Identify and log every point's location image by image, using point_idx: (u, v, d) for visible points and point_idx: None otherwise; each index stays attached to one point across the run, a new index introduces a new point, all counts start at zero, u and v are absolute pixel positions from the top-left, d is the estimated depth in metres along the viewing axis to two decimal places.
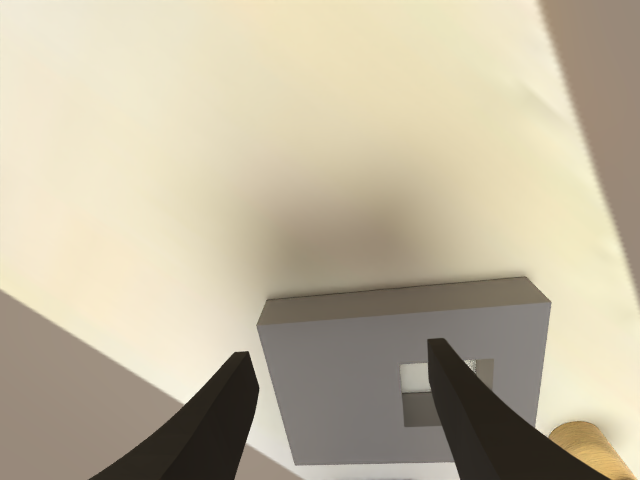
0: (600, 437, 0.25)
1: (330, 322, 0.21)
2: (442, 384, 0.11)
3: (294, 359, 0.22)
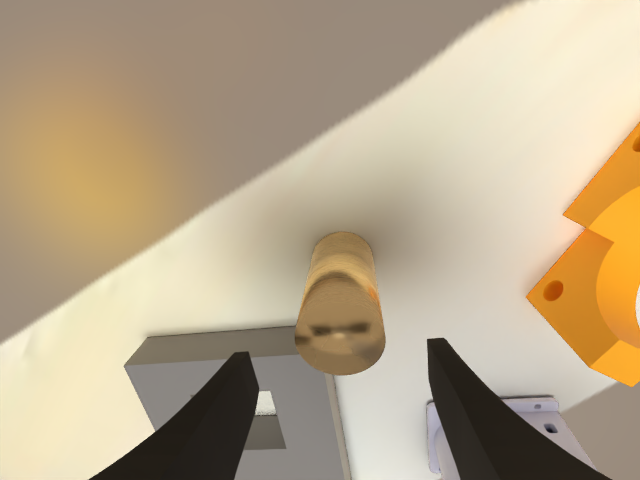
0: (312, 257, 0.21)
1: None
2: (442, 384, 0.11)
3: None
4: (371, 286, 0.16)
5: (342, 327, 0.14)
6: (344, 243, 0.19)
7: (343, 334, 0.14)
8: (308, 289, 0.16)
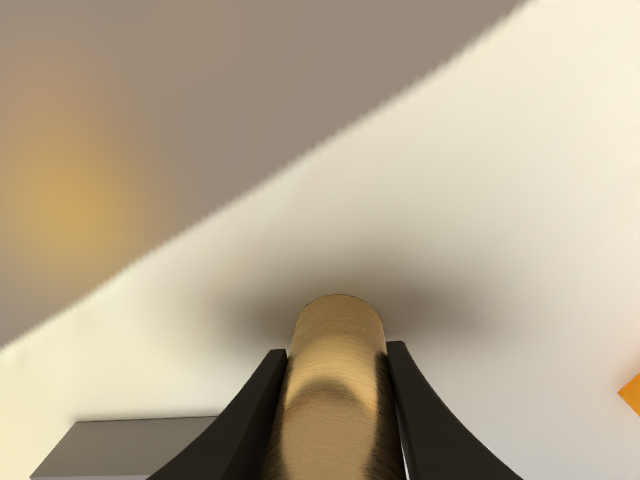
0: None
1: None
2: (394, 386, 0.11)
3: None
4: (387, 423, 0.09)
5: None
6: (341, 320, 0.13)
7: None
8: (278, 426, 0.09)
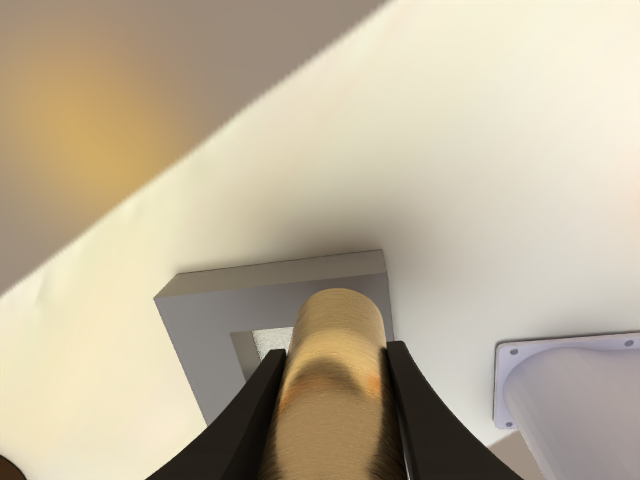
0: (294, 326, 0.14)
1: None
2: (394, 386, 0.11)
3: None
4: (389, 414, 0.09)
5: None
6: (345, 313, 0.13)
7: None
8: (281, 412, 0.09)
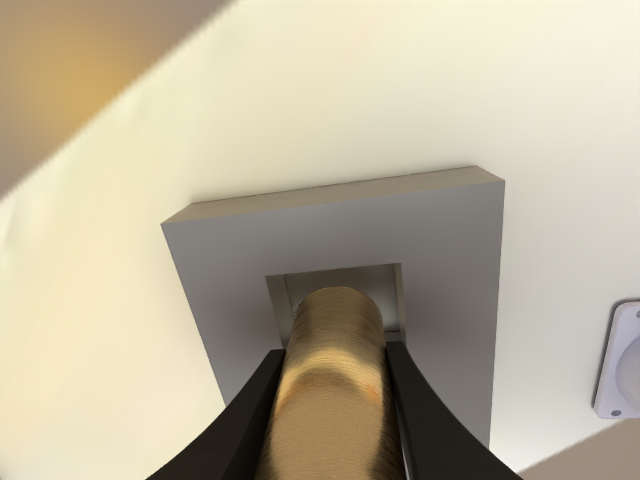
0: (294, 322, 0.14)
1: None
2: (394, 386, 0.11)
3: None
4: (390, 413, 0.09)
5: None
6: (346, 311, 0.13)
7: None
8: (281, 407, 0.09)
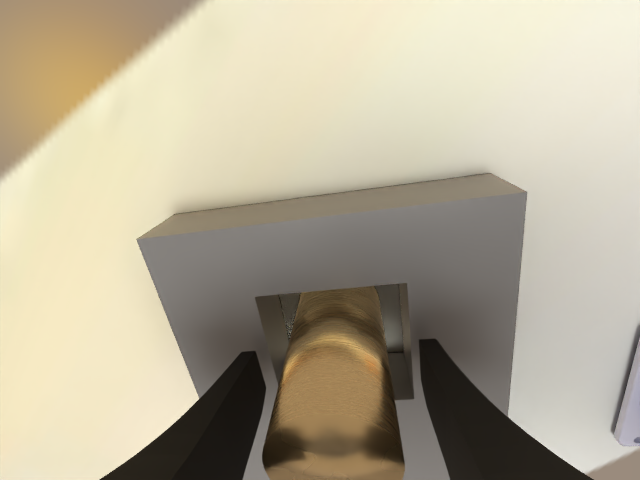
0: (300, 301, 0.15)
1: None
2: (433, 384, 0.11)
3: None
4: (384, 371, 0.11)
5: (339, 449, 0.09)
6: (346, 289, 0.14)
7: (340, 459, 0.09)
8: (291, 366, 0.11)
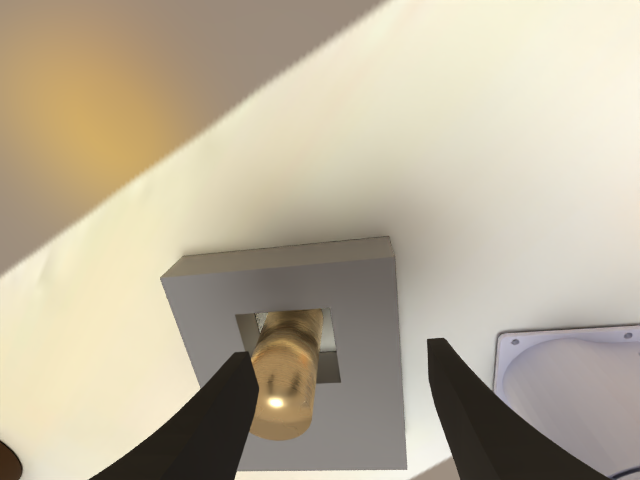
0: (267, 316, 0.23)
1: None
2: (442, 384, 0.11)
3: (262, 454, 0.26)
4: (309, 362, 0.18)
5: (276, 404, 0.16)
6: None
7: (276, 409, 0.16)
8: (254, 359, 0.18)
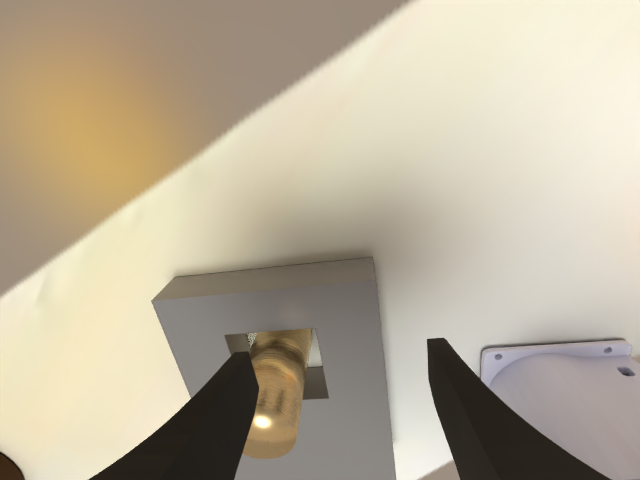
0: None
1: None
2: (442, 384, 0.11)
3: (255, 466, 0.26)
4: (295, 382, 0.19)
5: (261, 424, 0.17)
6: None
7: (262, 430, 0.17)
8: None
